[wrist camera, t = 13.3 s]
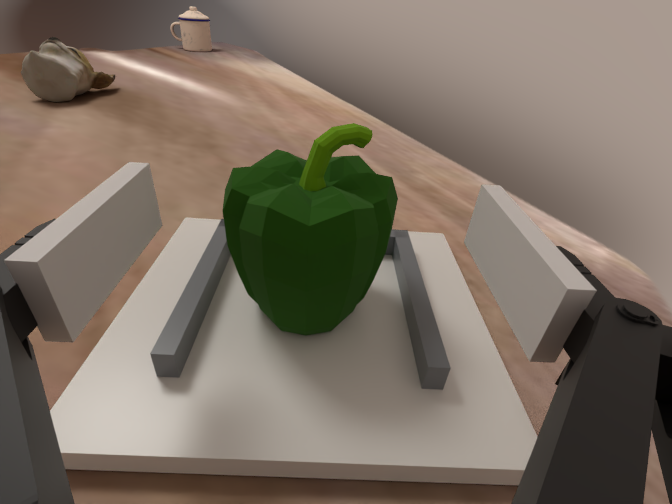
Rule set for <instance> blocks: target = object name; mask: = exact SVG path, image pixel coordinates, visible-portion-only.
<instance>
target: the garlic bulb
mask: <svg viewBox="0 0 672 504" xmlns="http://www.w3.org/2000/svg"><path fill="white" fill-rule="evenodd" d="M21 74H22V77H23V79H24V80H25V82H26V85H27V86H28V88H29V89H30V90H31V91H32V92H33V93H34V94H35V95H36V96H37V97H39V98H41V99H44V100H48V101H52V102H63V101H69V100H72V99H73V98H74V96H76V95H80V94H83V93H85V92H87V91H88V90H90V89H91V88H95V89H102V88H105V87H108V86H109V85H110V84H111V83H112V82H113V81H114V79H115V75H108V74H104V73H103V72H94V70H93V68H92V66H91V65H90V63H89V62H88V60H87V58H86V57H85V56H84V54H83V53H82V52H80V51H79V50H78V49H76V48H72V47H68V46H65V45H64V44H63V43H61V41H60V40H59V39H58V38H55V37H52V38H49V39H48V40H46V41H44V42H43V43H42V44H41V46H40V51H39V53H38V52H35V51H30V52H29V54H28V55H27V56H25V59H24V61H23V64H22V71H21Z"/></svg>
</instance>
